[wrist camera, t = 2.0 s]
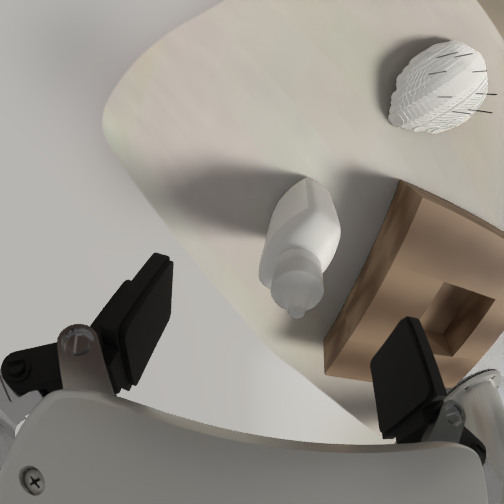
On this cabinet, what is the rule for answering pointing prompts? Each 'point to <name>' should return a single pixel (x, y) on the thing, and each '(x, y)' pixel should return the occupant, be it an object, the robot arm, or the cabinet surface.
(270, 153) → the cabinet surface
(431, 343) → the walnut socket block
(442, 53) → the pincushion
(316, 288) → the eye dropper bottle
